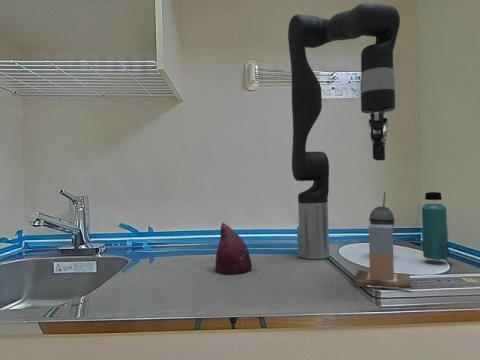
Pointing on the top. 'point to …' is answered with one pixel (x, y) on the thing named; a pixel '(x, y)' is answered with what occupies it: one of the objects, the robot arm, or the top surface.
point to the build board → (364, 279)
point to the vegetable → (232, 253)
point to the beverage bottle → (434, 229)
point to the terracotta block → (381, 266)
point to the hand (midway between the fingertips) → (379, 159)
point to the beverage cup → (382, 215)
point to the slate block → (381, 239)
